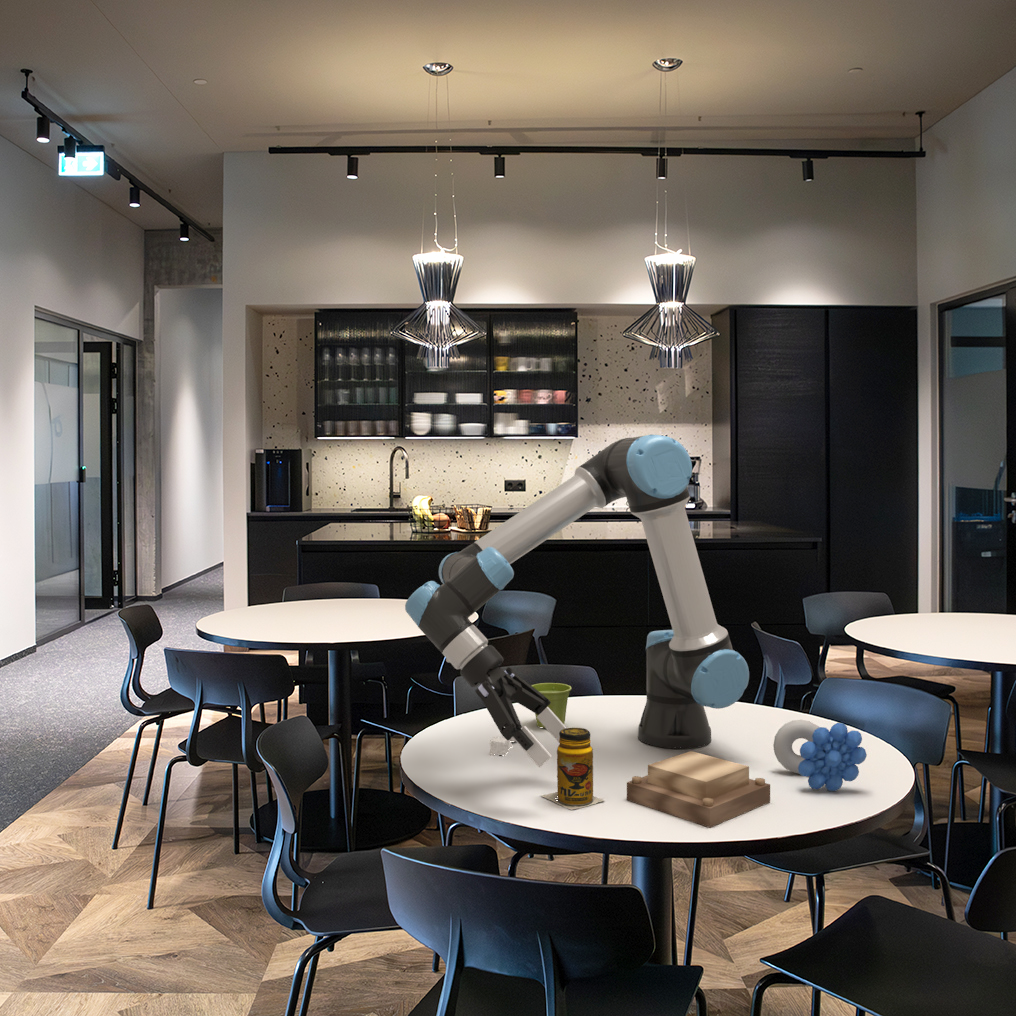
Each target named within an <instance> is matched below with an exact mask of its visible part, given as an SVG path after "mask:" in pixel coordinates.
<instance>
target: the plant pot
mask: <svg viewBox="0 0 1016 1016" xmlns="http://www.w3.org/2000/svg"><path fill="white" fill-rule="evenodd" d="M531 686H532V687H534V688H535V689H536V690H537V691H539V692H540V693H541V694H543V695H544V696H545V697H546V698H547V699H549V700H550V702H551V704H549V705H548V706H547V707H549V708H550V710H551V711H552V712H553V713H554V714H555V715H556V716H557V717H558V719H559V720H560V721H561V722H562V723H563V724H564V725H565V723H566V716H567V715H566V713H567V707H568V698H569V695H570V692H571V690H572V686H571V685H570V684H569V685H568V684H566V683H559V682H556V683H555V682H543V683H541V682H540V683H535V684H531ZM534 715H535V724H536V727H538V726H539V727H543V728H542V729H546V728H545V726H544V725H543V724H542V723H541V722H540V721H539V720H538V719H537V716H538V715H537V714H536V713H534ZM539 727H538V728H539Z"/></svg>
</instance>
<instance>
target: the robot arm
mask: <svg viewBox="0 0 1016 1016" xmlns="http://www.w3.org/2000/svg"><path fill="white" fill-rule="evenodd" d="M692 475H693V464H692V459H691V457H690V455H689V453H688V450H687V449H686V448H685V447H684V446H683V445H682V443H681V442H679V440H676V439H675V438H672V437H670V436H667V435H661V434H653V433H652V434H647V435H641V436H635V437H625V438H621V439H619V440H616V441H614V442H613V443H610V444H609V445H607V446H606V447H605V448H603V449H602V450H601V451H599V452H598V453H596V454H594V456H592V457H591V458H589V459H588V460H586V461H584V463H583V464H581V465H579V466H578V467H576V468H575V470H574V475H573V476H571V478H569V479H567V480H566V481H564V482H563V483H562V484H560V485H558V486H557V487H555V488H554V489H553V490H550V491H549V492H548V493H547V494H545V495H544V496H543V495H542V497H540V498H539V499H537V500H536V501H534V502H533V503H531V504H530V505H528V506H527V507H525V508H524V509H522V510H521V511H520V512H517V513H516V514H515V515H513V516H512V517H510V518H509V519H507V520H506V521H504V522H503V523H501V524H500V525H498V526H497V527H495V528H494V529H492V530H491V531H488V533H486V534H485V535H483V536H482V537H480V538H479V539H477V540H475V541H474V542H473V543H472V544H471V543H470V545H467V546H466V547H465V548H463V549H462V550H461V551H455V552H452V553H449V554H447V555H446V556H445V557H444V558H442V560H441V562H440V564H439V567H438V577H439V580H440V582H441V583H442V584H441V585H440V584H439V583H438V582H436V581H435V580H430V581H429V580H428V581H427V582H425V583H424V584H423V585H422V586H420V587H418V588H417V589H416V590H414V592H412V594H410V596H409V597H408V599H407V600H406V602H405V604H404V609H405V612H406V613H407V615H408V616H409V617H410V618H411V619H412V621H413V622H414V624H415V625H417V628H418V629H419V630H420V631H421V632H422V633H423V635H425V636H426V637H427V638H428V639H429V641H430V642H431V643H432V644H433V645H434V646H435V647H436V649H437V650H438V651H440V653H441V654H442V655H443V656H444V657H445V658H446V659H445V661H446V663H449V664H451V666H452V667H453V668H454V669H456V670H460V672H459V673H460V676H461V678H463V679H464V680H465V682H467V684H468V685H469V686H470V687H471V688H476V689H475V690H474V691H475V694H476V695H477V696H478V697H479V699H480V700H481V701H482V702H483V704H484V706H485V708H486V709H487V711H488V714H489V715H490V717H491V718H492V720H493V721H494V723H495V725H496V727H497V729H498V730H499V732H500V734H501V736H502V737H503V738H504V737H505V739H507V740H510V739H511V738H512V737H513V738H514V739H515V741H516V743H517V744H518V745H519V747H521V749H522V750H523V751H524V752H525V753H526V754H527V755H528V757H529V758H530V759H531V760H532V761H533V762H534V763H535V764H536V765H537V767H538V768H541V767H542V766H543V765H544V764H545V763H546V762H547V761H548V760H549V759H551V757H552V754H551V753H550V752H549V751H548V750H547V748H546V747H545V746H544V745H543V744H542V743H541V742H540V741H539V739H537V737H536V736H535V735H534V734H533V733H532V732H531V730H529V728H528V727H527V726H526V725H524V726H523V725H522V724H521V721H520V719H519V716H518V713H517V711H516V709H515V708H514V705H513V702H512V701H514V702H516V703H517V704H519V705H521V706H522V707H524V708H525V709H527V710H529V711H531V712H532V713H534V714H535V713H536V714H537V715H538V716H537V719H538V720H539V721H540V722H541V723H542V724H543V725H544V726H545V728H544V729H546V730H547V731H548V732H549V734H551V735H552V737H553V738H554V739H555V740H556V741H557V742H558V743H559V739H560V735H559V732H560V731H561V730H563V729H565V728H568V727H567V726H566V725H565V724H563V723H562V722H561V721H560V720H559V719H558V717H557V716H556V715H555V714H554V713H553V712H552V711H551V710H550V708H549V707H547V706H548V705H549V704H551V702H550V700H549V699H547V698H546V697H545V696H544V695H543V694H541V693H540V692H539V691H537V690H536V689H535V688H534V687H532V684H530V683H529V682H527V681H526V680H525V679H524V678H522V677H521V676H520V675H519V674H518V673H516V672H515V671H514V669H513V668H511V667H510V666H508V667H506V669H505V670H503V669H502V668H501V665H502V663H503V662H504V661H505V660H504V657H503V656H502V655H501V653H500V652H499V651H498V650H497V649H496V648H495V646H493V645H492V644H489V645H488V643H489V639H488V638H487V637H486V636H485V635H484V633H482V632H481V630H480V629H478V627H477V626H475V625H474V623H473V622H472V621H470V619H469V618H470V617H471V616H472V615H473V614H474V613H476V612H477V611H478V610H479V609H481V608H482V607H483V606H484V605H485V604H486V603H488V601H490V600H491V599H492V598H493V597H494V596H496V595H497V594H498V593H499V592H500V591H502V590H504V589H505V587H506V586H507V584H509V583H510V582H511V581H512V580H513V579H514V575H515V571H514V569H513V567H512V566H511V564H513V563H514V562H515V561H517V560H518V559H520V558H521V557H523V556H525V555H526V554H528V553H529V552H530V551H532V550H533V549H535V548H537V547H538V546H539V545H541V544H542V543H544V542H545V541H547V540H548V539H550V538H552V537H553V536H554V535H556V534H557V533H559V532H561V531H562V530H563V529H565V528H566V527H568V526H569V525H571V524H572V523H573V522H576V520H578V519H580V518H581V517H582V516H584V515H585V514H587V513H588V512H590V511H592V510H593V509H594V508H599V509H603V508H605V507H606V506H608V505H610V504H611V503H613V502H615V501H617V500H619V499H625V498H626V500H627V505H628V507H629V508H628V509H629V511H630V514H632V515H633V516H635V517H637V518H639V519H640V521H641V524H642V529H643V531H644V535H645V537H646V541H647V545H648V548H649V552H650V555H651V559H652V562H653V566H654V569H655V574H656V576H657V581H658V583H659V587H660V590H661V593H662V596H663V597H662V598H663V601H664V604H665V608H666V610H667V611H666V612H667V615H668V618H669V621H670V625H671V629H663V630H654V631H650V632H649V633H648V634H647V636H646V644H645V645H646V646H645V653H646V657H645V659H646V663H645V664H646V666H645V667H646V702H645V705H644V708H643V711H642V715H641V718H640V722H639V724H638V728H637V737H638V740H639V739H640V741H641V742H642V743H645V744H646V743H647V745H649V744H650V746H653V747H657V748H666V749H676V750H677V749H684V748H685V749H694V748H702V747H705V746H708V745H709V744H710V743H711V742H712V729H711V726H710V724H709V720H708V716H707V712H706V710H705V707H706V708H710V709H711V708H712V709H718V710H719V709H725V708H727V707H730V706H732V705H733V704H735V703H736V702H738V701H739V700H740V699H741V698H742V697H743V694H744V692H745V690H746V689H747V687H748V685H749V680H750V671H749V666H748V663H747V661H746V660H745V658H744V657H743V656H742V655H741V654H740V653H739V652H738V651H735V650H734V649H733V645H732V642H731V639H730V635H729V632H728V630H727V629H726V628H725V627H724V626H721V625H720V624H718V621H717V619H716V615H715V611H714V608H713V604H712V601H711V597H710V594H709V590H708V589H709V588H708V586H707V583H706V579H705V575H704V572H703V568H702V565H701V561H700V558H699V554H698V550H697V547H696V543H695V539H694V536H693V532H692V529H691V525H690V522H689V518H688V515H687V511H686V506H687V504H688V502H689V500H690V499H691V494H690V491H689V488H688V486H689V483H690V480H691V478H692ZM685 749H684V750H685Z"/></svg>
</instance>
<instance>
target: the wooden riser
mask: <svg viewBox="0 0 1016 1016" xmlns="http://www.w3.org/2000/svg"><path fill="white" fill-rule="evenodd" d="M626 800H627V801H629V802H633V803H636V804H638V805H641V806H644V807H647V808H650V809H653V810H656V811H660V812H662V813H665V814H668V815H671V816H675V817H676V818H680V819H684V820H685V821H686V820H687V821H688V822H692V823H695V824H698V825H700V826H704V827H707V828H713V827H714V826H718V825H719V824H722V823H724V822H727V821H729V820H731V819H733V818H736V817H739V816H740V815H743V814H745V813H748V812H749V811H753V810H755V809H758V808H759V807H762V806H764V805H766V804H769V803H771V784H770V783H766V779H765V778H763V777H756V778H755V779H753V778H750V766H748V765H746V764H745V765H744V764H742V763H737V762H734V761H731V760H726V759H722V758H720V757H719V758H718V757H715V756H711V755H707V754H703V753H701V752H696V751H693V750H690V751H687V752H683V753H681V754H677V755H675V756H672V757H669V758H665V759H661V760H659V761H656V762H652V763H650V764H647V775H644V776H642V777H641V776H639V775H637V776H632V777H631V780H630V781H627V782H626Z"/></svg>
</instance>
